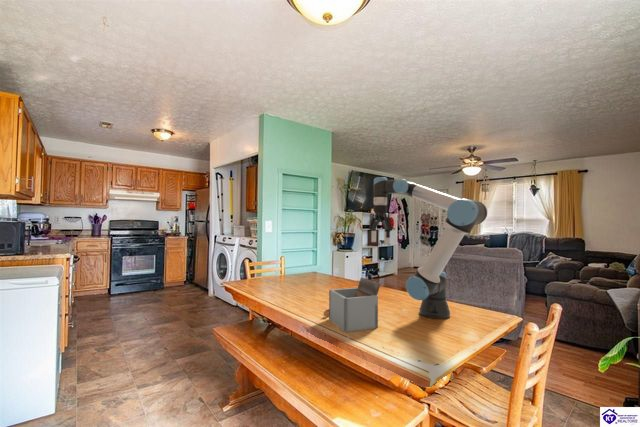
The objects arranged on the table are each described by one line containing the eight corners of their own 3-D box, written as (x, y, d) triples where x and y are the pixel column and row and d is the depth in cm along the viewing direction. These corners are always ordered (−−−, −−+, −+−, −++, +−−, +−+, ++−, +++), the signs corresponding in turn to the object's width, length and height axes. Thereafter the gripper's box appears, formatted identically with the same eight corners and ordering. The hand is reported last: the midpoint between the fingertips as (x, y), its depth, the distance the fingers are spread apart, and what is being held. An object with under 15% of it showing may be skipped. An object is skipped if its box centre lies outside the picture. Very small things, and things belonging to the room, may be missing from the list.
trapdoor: (366, 278, 154) (360, 277, 153) (380, 284, 141) (374, 282, 140) (356, 312, 151) (350, 310, 150) (370, 321, 138) (363, 319, 137)
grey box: (358, 315, 154) (358, 287, 155) (377, 327, 137) (377, 295, 137) (329, 319, 148) (329, 289, 149) (345, 332, 131) (345, 298, 132)
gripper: (363, 205, 178) (363, 241, 178) (387, 203, 155) (386, 244, 155) (374, 206, 181) (374, 241, 181) (399, 204, 158) (399, 244, 157)
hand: (380, 242), depth 168 cm, fingers open, 13 cm apart
